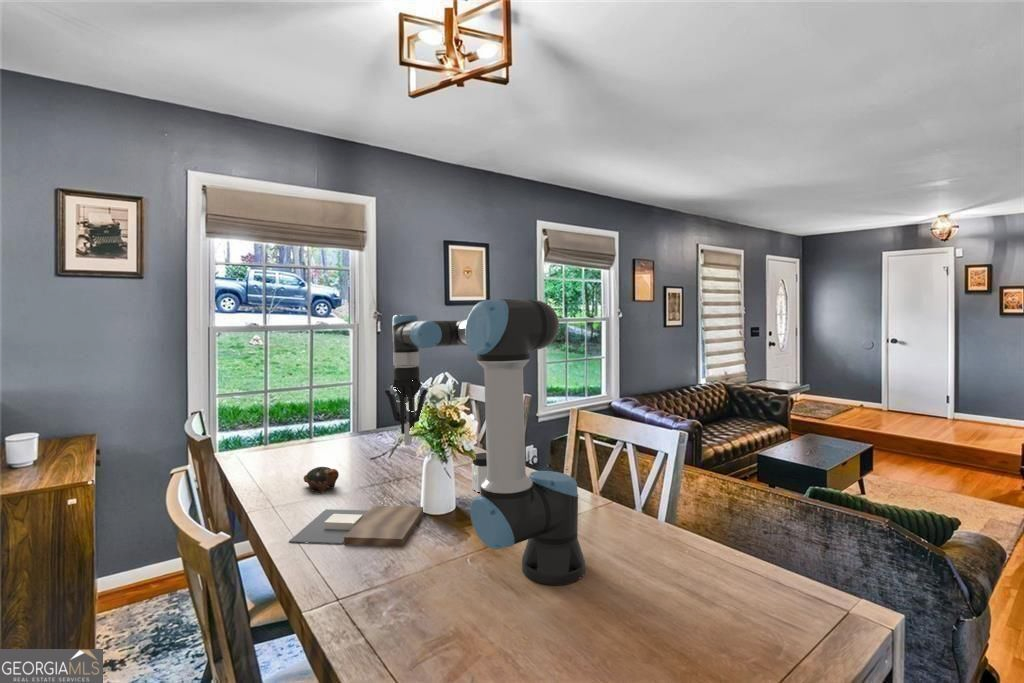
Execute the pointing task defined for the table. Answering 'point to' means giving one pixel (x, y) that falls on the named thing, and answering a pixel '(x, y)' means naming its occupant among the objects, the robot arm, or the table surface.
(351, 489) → the table surface
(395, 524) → the serving board
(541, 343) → the robot arm
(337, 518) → the cream rectangular block
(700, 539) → the table surface
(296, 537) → the place mat
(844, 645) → the table surface
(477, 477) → the jar
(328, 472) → the decorative turtle
